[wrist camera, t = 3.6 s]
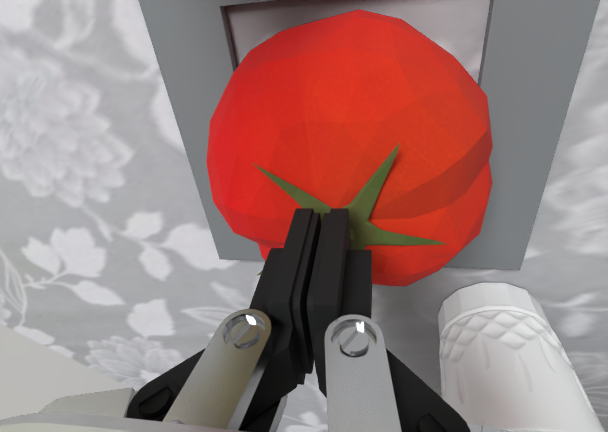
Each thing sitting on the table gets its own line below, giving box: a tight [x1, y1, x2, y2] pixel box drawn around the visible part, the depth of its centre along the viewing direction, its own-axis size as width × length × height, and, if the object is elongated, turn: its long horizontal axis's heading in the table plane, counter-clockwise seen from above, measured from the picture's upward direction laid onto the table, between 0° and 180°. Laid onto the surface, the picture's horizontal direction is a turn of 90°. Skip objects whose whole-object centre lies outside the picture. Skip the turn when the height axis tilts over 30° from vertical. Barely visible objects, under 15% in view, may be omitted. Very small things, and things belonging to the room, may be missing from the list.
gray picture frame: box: [139, 0, 600, 270], centre depth 20 cm, size 20×20×1 cm
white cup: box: [438, 283, 605, 432], centre depth 23 cm, size 8×8×10 cm
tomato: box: [206, 10, 493, 286], centre depth 17 cm, size 12×12×10 cm
